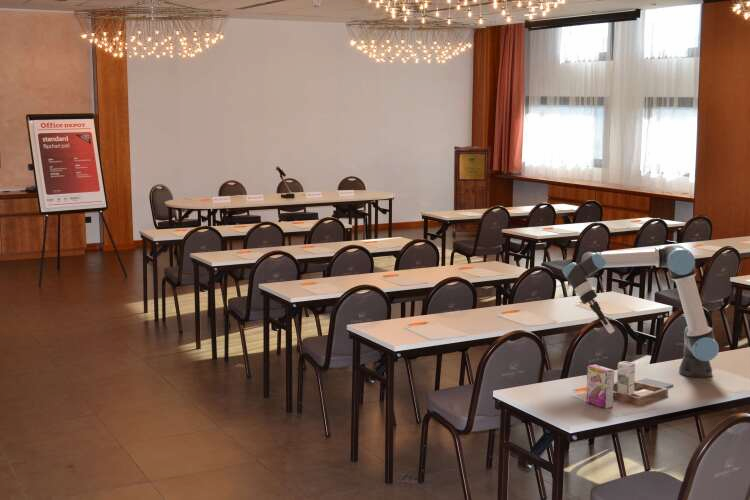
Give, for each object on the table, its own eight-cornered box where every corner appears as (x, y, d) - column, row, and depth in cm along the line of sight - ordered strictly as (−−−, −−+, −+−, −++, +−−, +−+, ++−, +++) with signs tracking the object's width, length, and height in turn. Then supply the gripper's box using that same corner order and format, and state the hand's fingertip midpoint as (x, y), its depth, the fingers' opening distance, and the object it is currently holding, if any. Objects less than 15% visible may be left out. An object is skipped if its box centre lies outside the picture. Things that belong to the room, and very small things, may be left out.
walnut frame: (595, 395, 402) (596, 388, 402) (625, 386, 418) (625, 378, 417) (638, 406, 387) (639, 398, 386) (667, 396, 402) (668, 388, 401)
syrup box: (634, 394, 405) (635, 362, 403) (628, 397, 400) (629, 364, 399) (622, 392, 409) (623, 360, 407) (616, 394, 404) (617, 362, 402)
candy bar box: (585, 402, 392) (586, 365, 390) (593, 400, 395) (595, 363, 393) (605, 409, 383) (606, 371, 381) (613, 407, 385) (614, 369, 383)
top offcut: (631, 396, 396) (631, 393, 396) (643, 391, 403) (643, 389, 403) (641, 398, 393) (641, 395, 393) (653, 394, 400) (653, 391, 399)
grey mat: (629, 385, 419) (629, 383, 419) (646, 380, 428) (646, 378, 428) (656, 392, 409) (656, 389, 408) (673, 386, 418) (673, 384, 418)
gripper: (581, 299, 439) (606, 337, 433) (576, 295, 415) (603, 334, 410) (594, 291, 438) (619, 328, 432) (591, 286, 414) (617, 326, 408)
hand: (611, 331), depth 421 cm, fingers open, 13 cm apart
